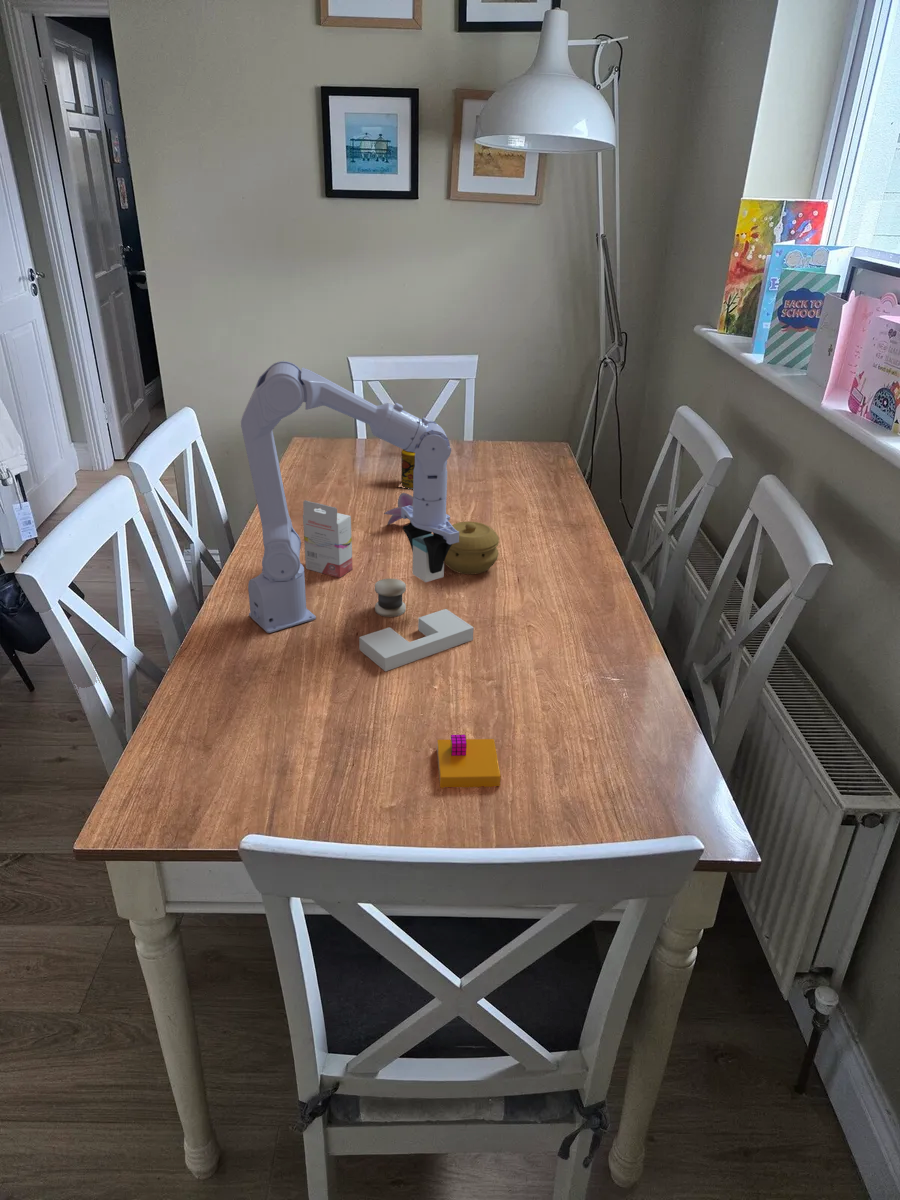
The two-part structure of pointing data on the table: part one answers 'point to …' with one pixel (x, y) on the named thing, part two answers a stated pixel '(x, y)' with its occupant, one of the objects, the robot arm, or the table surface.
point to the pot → (473, 548)
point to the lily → (402, 502)
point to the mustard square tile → (467, 762)
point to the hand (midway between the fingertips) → (428, 566)
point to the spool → (390, 597)
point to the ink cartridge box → (327, 539)
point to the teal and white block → (423, 561)
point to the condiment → (407, 468)
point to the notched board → (397, 651)
